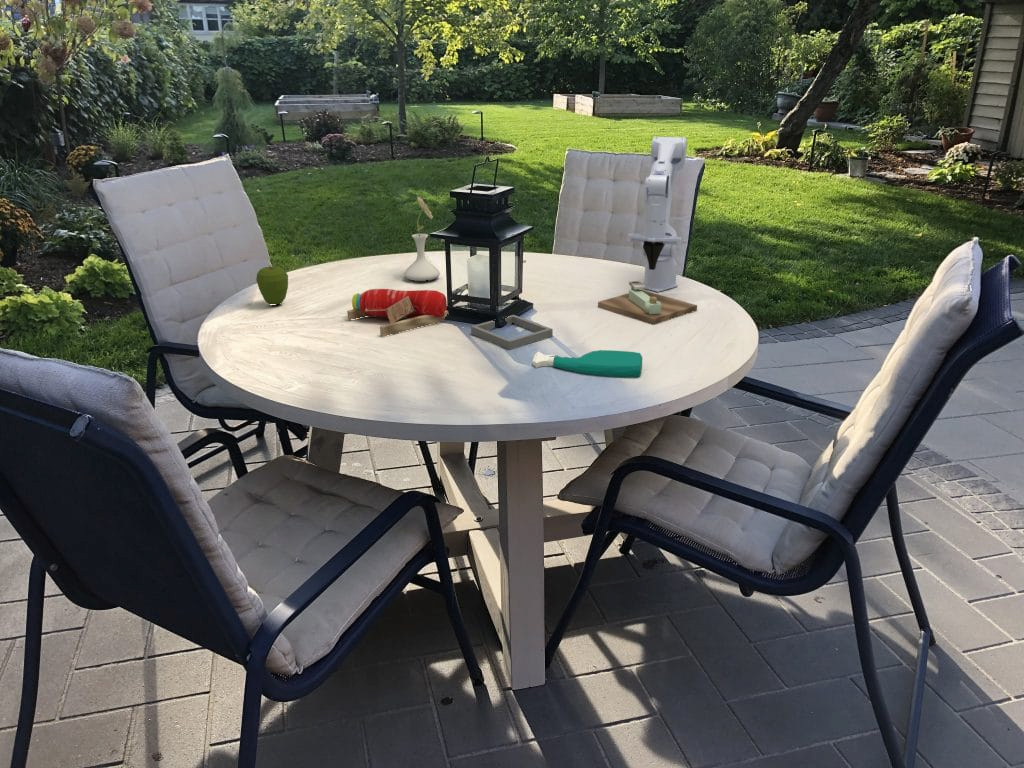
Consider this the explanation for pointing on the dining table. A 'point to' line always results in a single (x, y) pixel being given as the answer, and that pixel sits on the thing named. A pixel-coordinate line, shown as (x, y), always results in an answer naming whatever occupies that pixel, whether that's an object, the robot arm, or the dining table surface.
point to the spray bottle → (596, 363)
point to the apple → (272, 284)
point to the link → (644, 302)
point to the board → (630, 309)
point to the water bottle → (400, 303)
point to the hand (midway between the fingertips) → (652, 268)
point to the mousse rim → (539, 334)
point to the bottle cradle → (400, 322)
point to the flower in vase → (421, 254)
